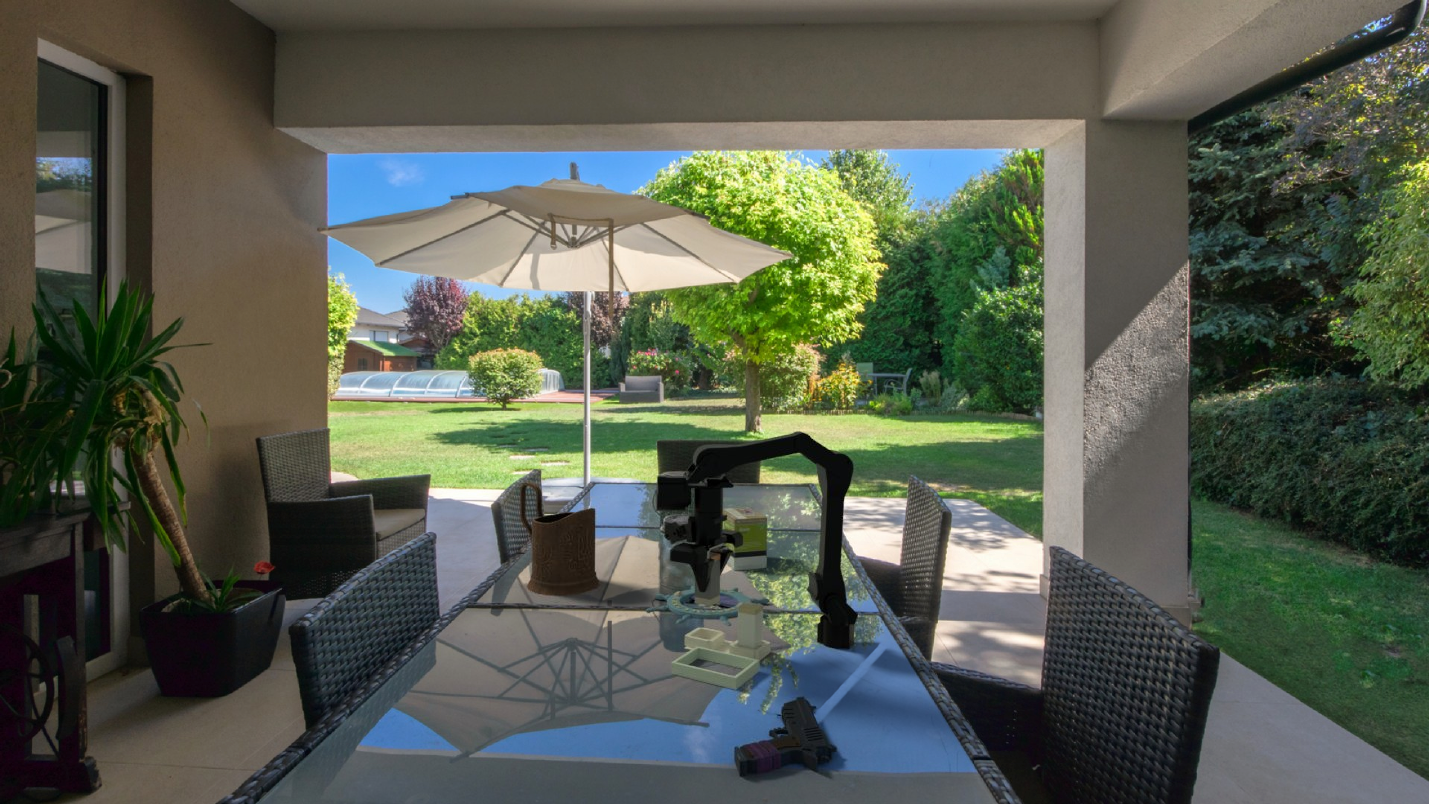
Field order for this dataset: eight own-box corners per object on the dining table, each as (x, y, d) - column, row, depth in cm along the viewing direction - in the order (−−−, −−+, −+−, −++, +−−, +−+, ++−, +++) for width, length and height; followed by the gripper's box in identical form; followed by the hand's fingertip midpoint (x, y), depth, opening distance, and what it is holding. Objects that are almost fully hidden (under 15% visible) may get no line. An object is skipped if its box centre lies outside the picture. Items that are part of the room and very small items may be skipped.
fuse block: (773, 655, 149) (773, 640, 148) (755, 669, 142) (755, 653, 141) (701, 639, 156) (701, 625, 156) (681, 652, 149) (681, 637, 149)
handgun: (725, 714, 125) (815, 711, 126) (737, 781, 105) (844, 777, 106) (725, 697, 125) (815, 694, 126) (737, 760, 105) (844, 757, 106)
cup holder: (565, 600, 181) (566, 496, 180) (495, 584, 193) (495, 486, 192) (615, 582, 197) (615, 486, 195) (546, 567, 209) (547, 477, 208)
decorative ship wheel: (793, 589, 182) (739, 627, 156) (793, 603, 182) (739, 643, 156) (685, 572, 196) (618, 604, 170) (685, 584, 196) (618, 618, 170)
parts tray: (759, 676, 138) (759, 660, 138) (735, 695, 130) (736, 678, 130) (696, 661, 145) (697, 646, 145) (670, 678, 137) (671, 662, 137)
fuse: (762, 652, 147) (763, 604, 147) (754, 658, 144) (754, 610, 144) (745, 649, 149) (746, 601, 148) (737, 655, 146) (738, 606, 145)
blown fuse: (719, 601, 149) (720, 553, 149) (710, 606, 146) (711, 557, 146) (704, 598, 151) (704, 551, 151) (694, 602, 148) (695, 555, 147)
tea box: (717, 557, 223) (717, 507, 222) (749, 555, 226) (750, 506, 225) (733, 571, 208) (734, 517, 207) (767, 568, 211) (768, 516, 210)
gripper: (697, 498, 160) (697, 572, 160) (646, 513, 144) (646, 595, 144) (744, 504, 154) (743, 580, 155) (696, 520, 138) (696, 605, 139)
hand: (707, 589), depth 148 cm, fingers closed on blown fuse, 4 cm apart
